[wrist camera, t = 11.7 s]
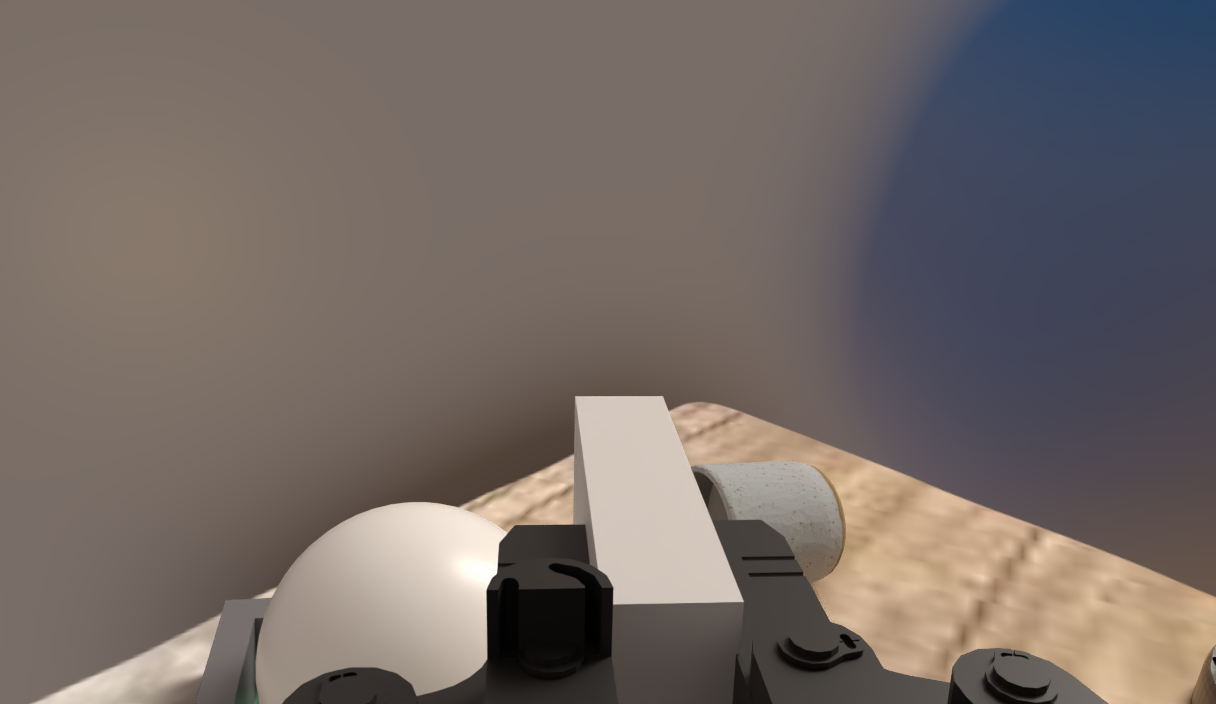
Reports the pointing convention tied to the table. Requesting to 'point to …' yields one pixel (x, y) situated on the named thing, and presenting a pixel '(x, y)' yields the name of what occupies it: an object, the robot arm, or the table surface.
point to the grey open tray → (234, 654)
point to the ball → (383, 601)
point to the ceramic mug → (780, 506)
